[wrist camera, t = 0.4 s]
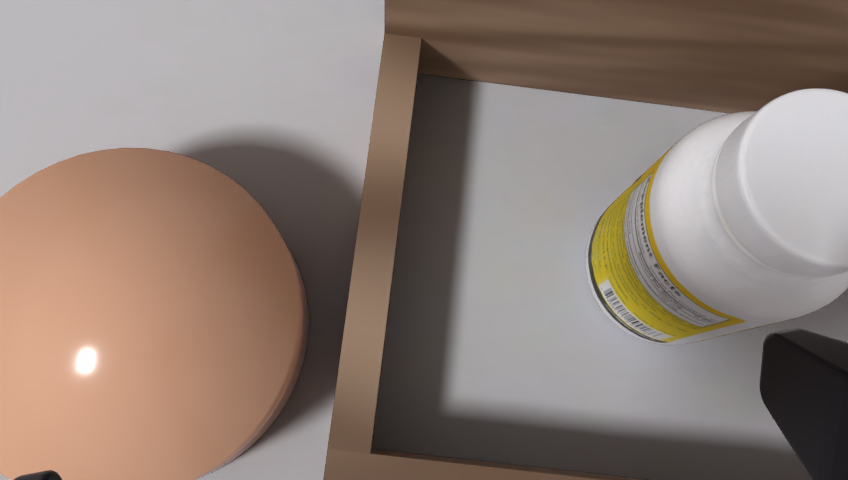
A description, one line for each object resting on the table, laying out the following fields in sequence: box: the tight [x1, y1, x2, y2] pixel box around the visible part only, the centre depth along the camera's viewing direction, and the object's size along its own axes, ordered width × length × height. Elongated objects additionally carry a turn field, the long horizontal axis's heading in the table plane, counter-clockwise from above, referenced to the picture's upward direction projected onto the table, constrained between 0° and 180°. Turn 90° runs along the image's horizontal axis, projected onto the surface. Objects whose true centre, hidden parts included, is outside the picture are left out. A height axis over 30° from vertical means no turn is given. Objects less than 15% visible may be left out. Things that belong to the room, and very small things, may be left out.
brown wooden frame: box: [323, 0, 848, 480], centre depth 20 cm, size 15×20×9 cm
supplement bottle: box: [586, 89, 848, 345], centre depth 20 cm, size 5×5×10 cm
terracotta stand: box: [0, 148, 309, 480], centre depth 21 cm, size 10×10×3 cm
